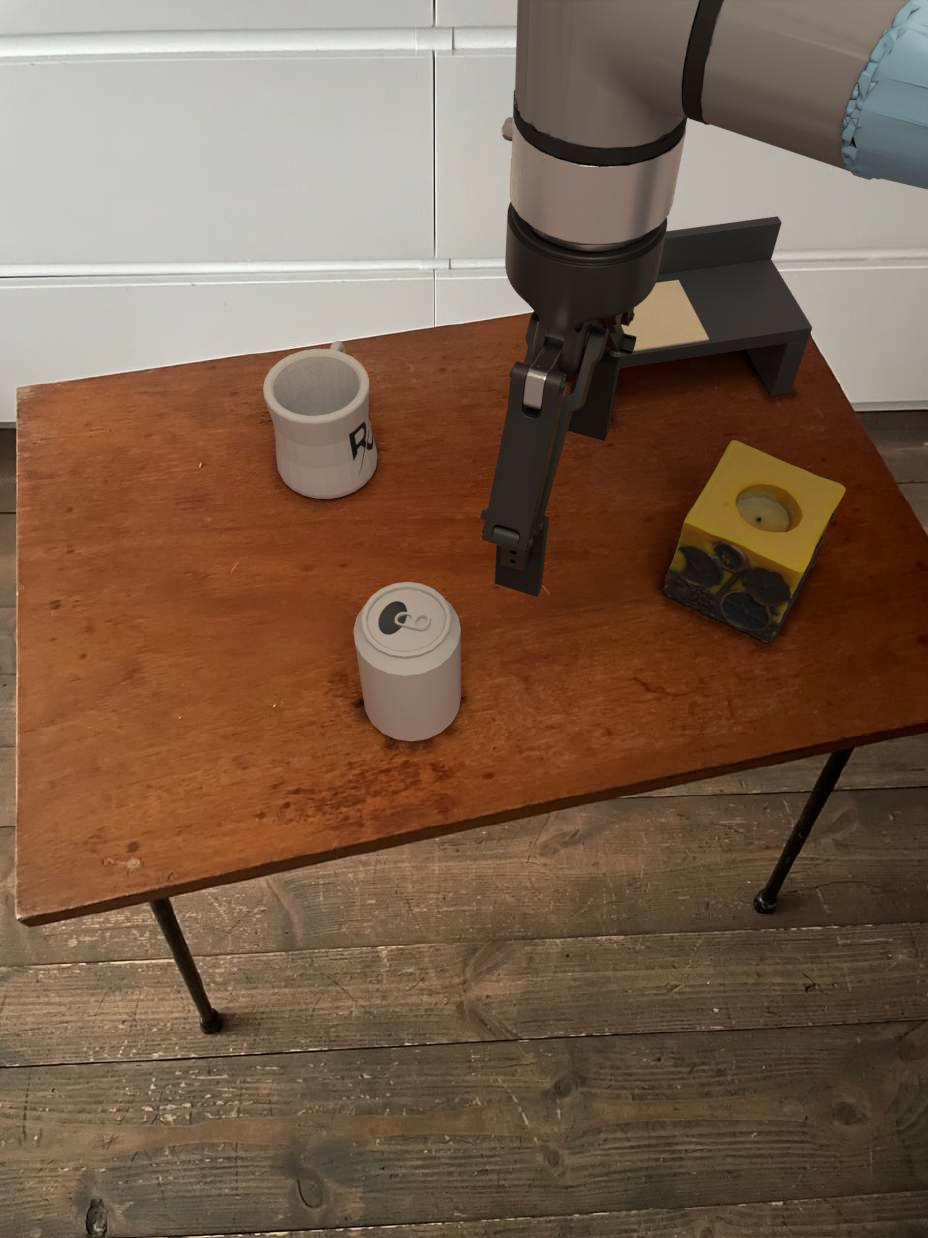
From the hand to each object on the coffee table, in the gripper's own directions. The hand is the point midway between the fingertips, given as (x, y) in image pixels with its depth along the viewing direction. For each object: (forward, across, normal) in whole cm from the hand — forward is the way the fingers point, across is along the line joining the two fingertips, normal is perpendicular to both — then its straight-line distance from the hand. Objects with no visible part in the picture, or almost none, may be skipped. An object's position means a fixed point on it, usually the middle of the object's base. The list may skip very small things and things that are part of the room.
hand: (554, 505), depth 67 cm
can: (+21, +6, -8) cm, 23 cm away
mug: (+21, -16, -25) cm, 37 cm away
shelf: (+21, -38, +1) cm, 44 cm away
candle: (+21, -15, +13) cm, 29 cm away
